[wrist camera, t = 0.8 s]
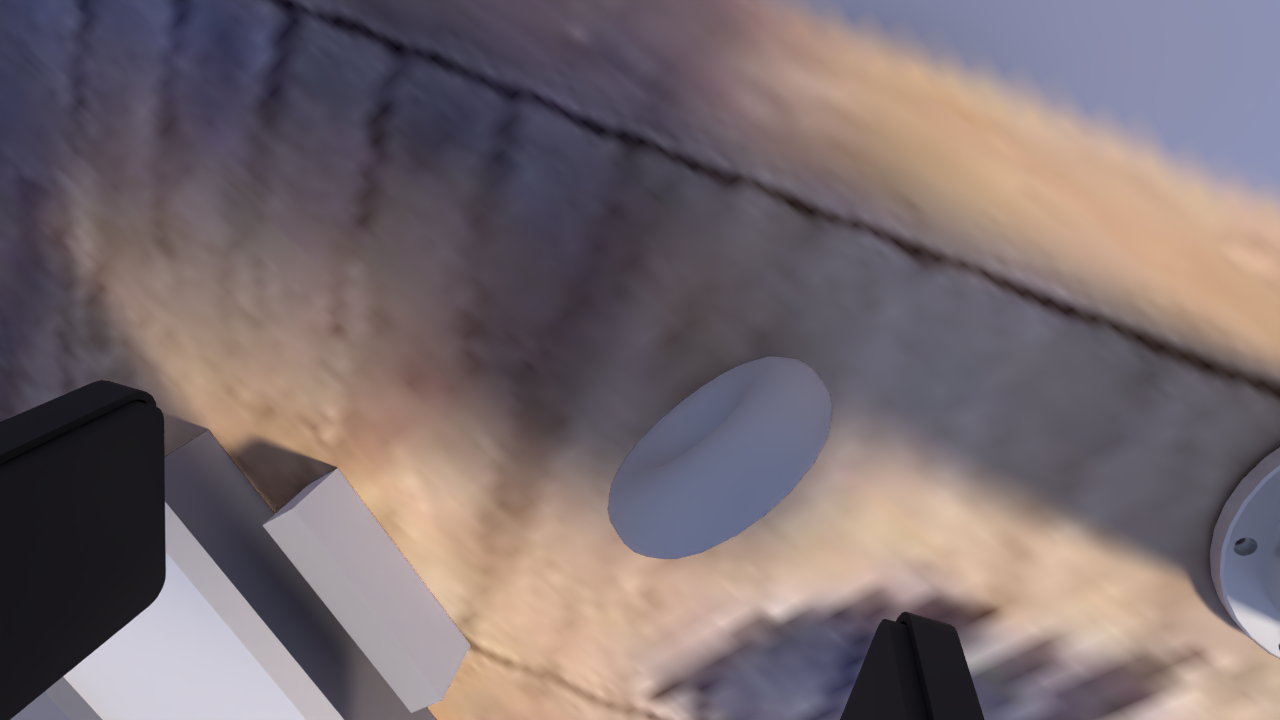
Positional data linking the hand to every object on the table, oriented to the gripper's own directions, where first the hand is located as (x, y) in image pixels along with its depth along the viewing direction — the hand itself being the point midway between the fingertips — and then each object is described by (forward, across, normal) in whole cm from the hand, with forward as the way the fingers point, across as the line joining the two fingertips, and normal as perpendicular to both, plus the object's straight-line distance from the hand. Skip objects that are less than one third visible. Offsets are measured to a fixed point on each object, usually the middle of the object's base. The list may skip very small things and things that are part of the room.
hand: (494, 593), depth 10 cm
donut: (+25, -3, +7) cm, 26 cm away
